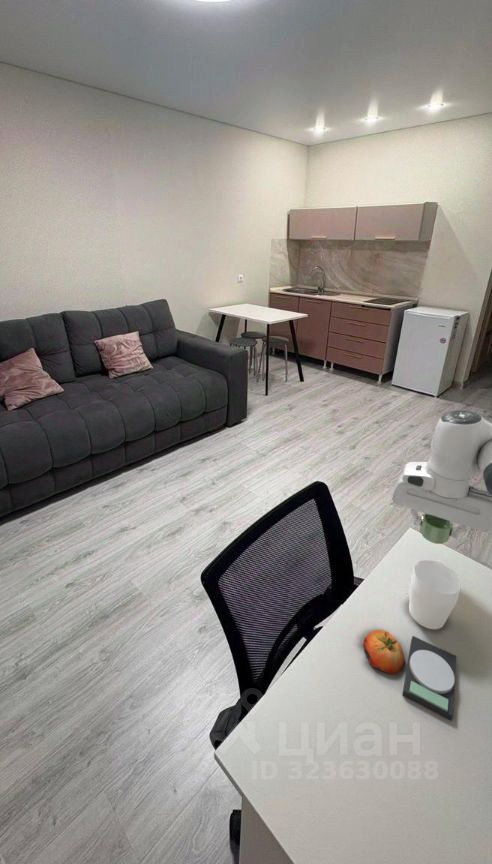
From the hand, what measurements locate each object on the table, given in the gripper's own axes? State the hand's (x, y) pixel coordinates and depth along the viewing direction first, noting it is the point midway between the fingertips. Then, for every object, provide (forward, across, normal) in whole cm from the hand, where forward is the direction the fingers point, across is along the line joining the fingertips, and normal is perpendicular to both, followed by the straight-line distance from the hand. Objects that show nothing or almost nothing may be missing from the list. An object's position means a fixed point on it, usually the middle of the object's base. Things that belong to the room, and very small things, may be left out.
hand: (434, 529), depth 94 cm
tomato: (+13, +5, +27) cm, 31 cm away
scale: (+13, -4, +27) cm, 31 cm away
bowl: (+2, 0, 0) cm, 2 cm away
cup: (+13, -2, +13) cm, 19 cm away
